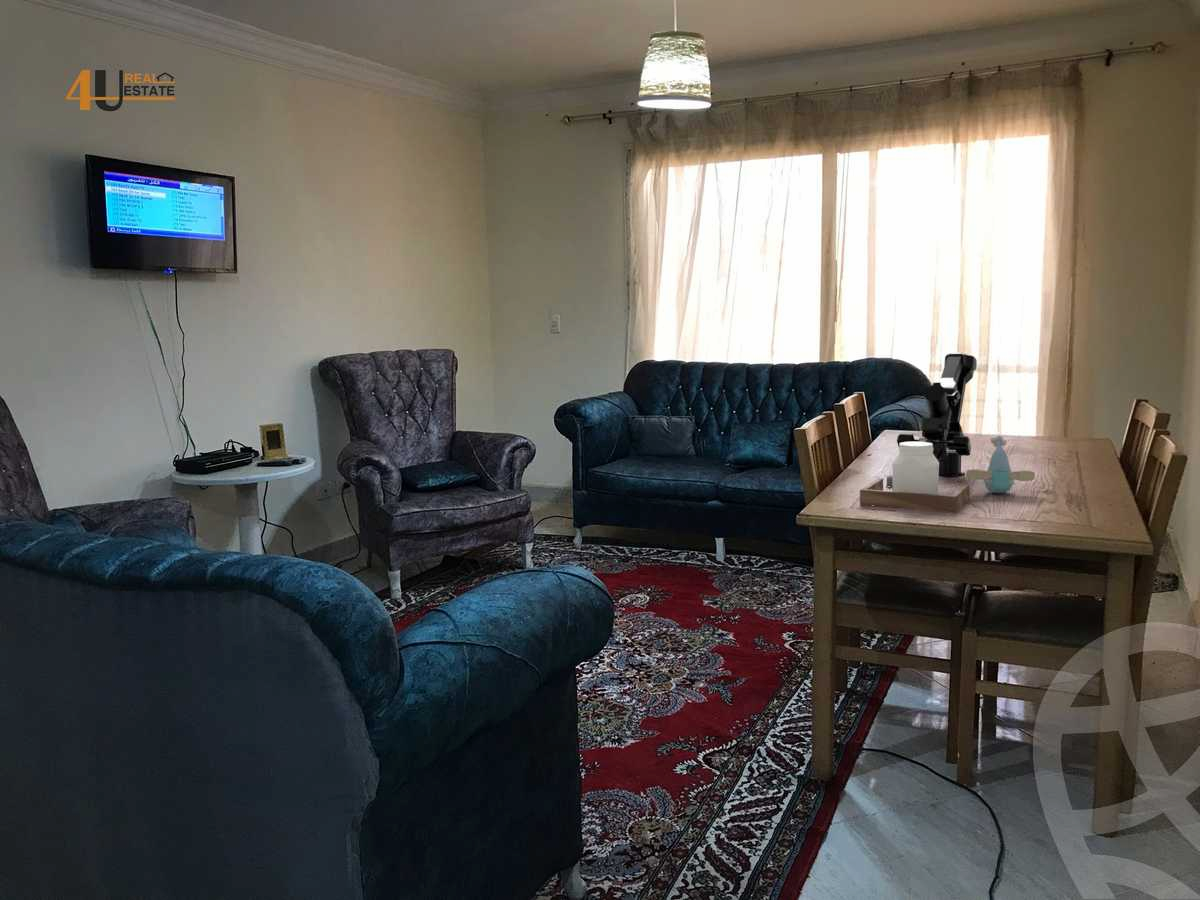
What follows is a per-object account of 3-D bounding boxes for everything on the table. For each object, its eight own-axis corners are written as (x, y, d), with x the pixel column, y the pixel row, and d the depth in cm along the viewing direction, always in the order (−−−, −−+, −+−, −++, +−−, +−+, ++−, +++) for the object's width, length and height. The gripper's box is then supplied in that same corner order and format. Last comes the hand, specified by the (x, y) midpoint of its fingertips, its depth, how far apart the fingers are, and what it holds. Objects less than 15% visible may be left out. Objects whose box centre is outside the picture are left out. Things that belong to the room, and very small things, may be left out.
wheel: (897, 483, 270) (897, 474, 269) (913, 486, 265) (913, 477, 264) (882, 485, 267) (882, 476, 267) (898, 488, 262) (898, 479, 261)
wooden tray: (878, 492, 258) (878, 478, 257) (969, 499, 245) (969, 483, 245) (859, 505, 243) (859, 489, 242) (955, 512, 230) (955, 496, 230)
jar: (888, 502, 245) (888, 445, 242) (896, 495, 253) (897, 440, 251) (934, 506, 239) (935, 447, 237) (941, 498, 247) (942, 442, 245)
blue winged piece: (1030, 490, 254) (1032, 434, 252) (1034, 497, 244) (1036, 440, 242) (964, 488, 260) (965, 434, 257) (965, 495, 250) (966, 439, 247)
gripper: (898, 404, 262) (888, 450, 255) (970, 406, 252) (961, 454, 245) (905, 428, 270) (895, 474, 262) (974, 431, 260) (966, 478, 253)
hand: (928, 469), depth 255 cm, fingers closed
